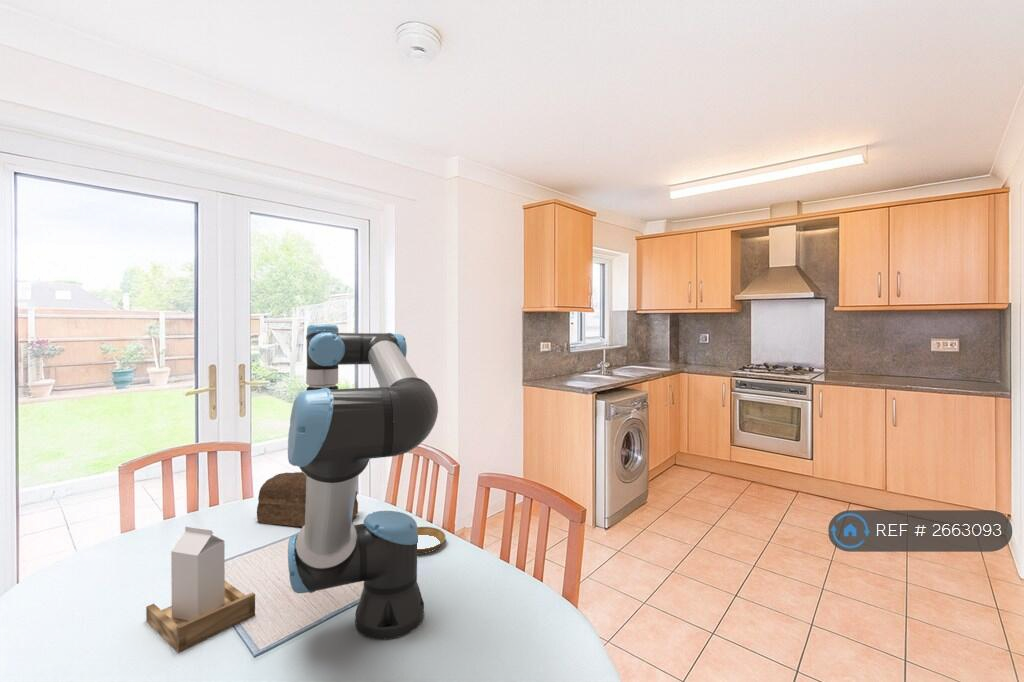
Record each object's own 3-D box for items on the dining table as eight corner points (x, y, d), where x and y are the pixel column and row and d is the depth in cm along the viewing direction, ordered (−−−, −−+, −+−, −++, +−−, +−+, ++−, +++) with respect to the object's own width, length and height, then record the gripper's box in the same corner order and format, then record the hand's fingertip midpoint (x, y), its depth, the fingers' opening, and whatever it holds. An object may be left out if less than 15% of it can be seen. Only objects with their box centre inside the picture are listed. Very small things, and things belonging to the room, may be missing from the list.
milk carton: (197, 623, 101) (197, 537, 101) (171, 618, 103) (170, 533, 102) (224, 604, 108) (224, 523, 108) (199, 599, 110) (199, 520, 109)
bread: (340, 533, 148) (340, 484, 148) (250, 523, 154) (250, 475, 153) (362, 515, 163) (363, 470, 162) (280, 506, 168) (280, 463, 168)
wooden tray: (255, 615, 106) (255, 593, 106) (178, 652, 94) (178, 628, 94) (219, 589, 116) (219, 570, 116) (146, 620, 104) (146, 598, 103)
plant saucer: (453, 549, 140) (454, 541, 140) (406, 563, 131) (406, 553, 131) (432, 530, 152) (432, 522, 152) (388, 542, 144) (388, 533, 144)
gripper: (369, 387, 116) (368, 473, 116) (303, 381, 128) (303, 458, 129) (344, 390, 109) (343, 481, 110) (278, 383, 122) (278, 464, 122)
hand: (322, 469), depth 119 cm, fingers open, 13 cm apart
